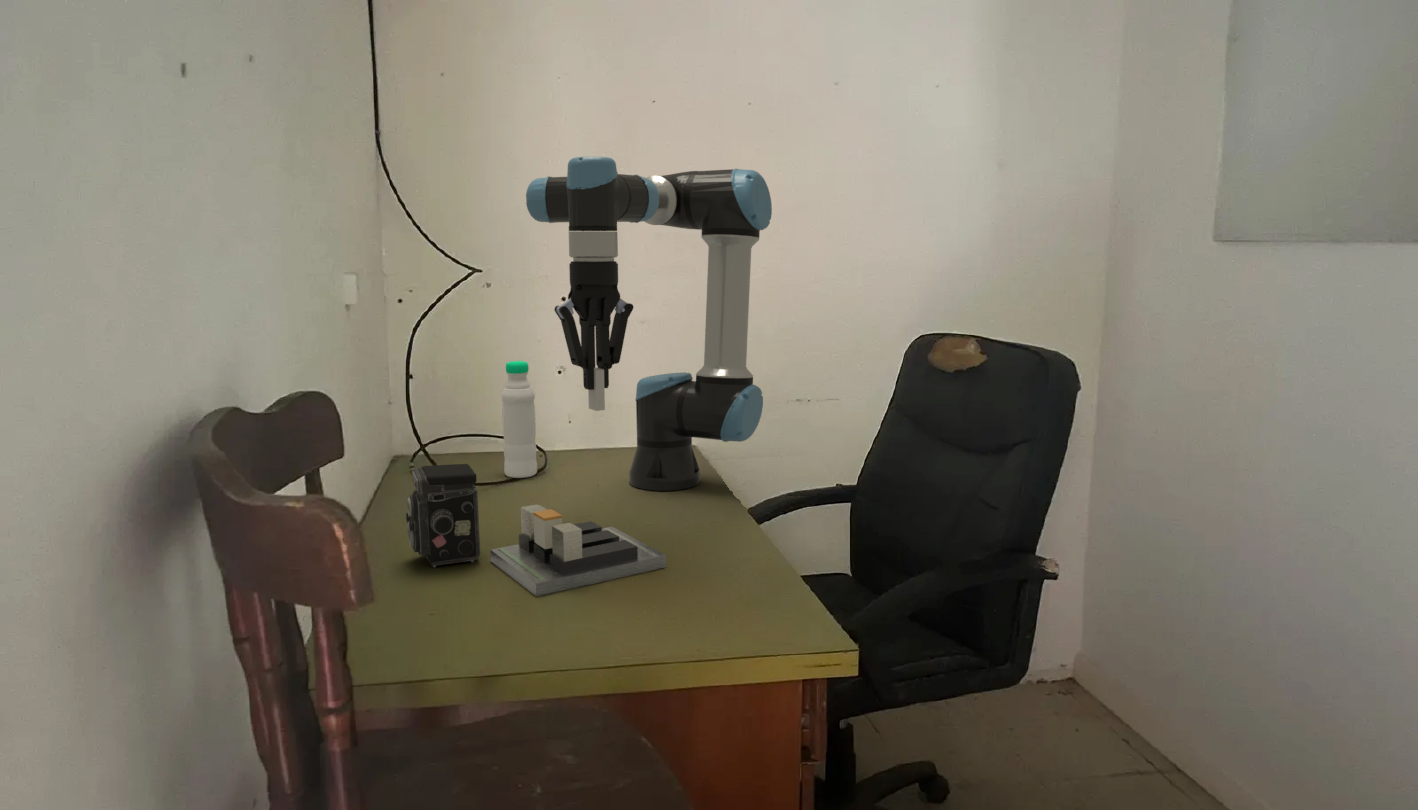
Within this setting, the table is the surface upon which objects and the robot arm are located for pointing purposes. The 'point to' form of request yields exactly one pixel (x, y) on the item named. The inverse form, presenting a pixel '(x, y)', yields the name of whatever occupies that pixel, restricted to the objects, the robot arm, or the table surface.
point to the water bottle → (519, 422)
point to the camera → (444, 514)
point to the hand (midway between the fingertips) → (596, 409)
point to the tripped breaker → (545, 527)
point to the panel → (573, 577)
